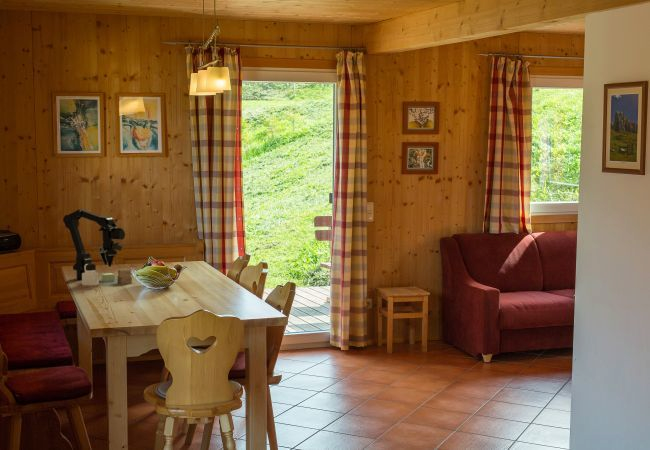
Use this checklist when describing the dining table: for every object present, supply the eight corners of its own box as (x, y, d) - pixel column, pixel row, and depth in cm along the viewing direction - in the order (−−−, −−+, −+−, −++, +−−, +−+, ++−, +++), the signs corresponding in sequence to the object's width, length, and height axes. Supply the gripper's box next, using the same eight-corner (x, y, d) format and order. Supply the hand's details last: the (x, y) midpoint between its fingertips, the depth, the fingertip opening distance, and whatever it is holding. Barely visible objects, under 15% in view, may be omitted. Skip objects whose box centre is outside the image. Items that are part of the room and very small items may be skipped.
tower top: (118, 276, 484) (118, 269, 484) (128, 275, 486) (128, 268, 486) (120, 277, 479) (119, 270, 478) (130, 276, 481) (130, 269, 481)
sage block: (101, 280, 492) (101, 273, 492) (111, 279, 495) (111, 273, 495) (104, 282, 487) (104, 275, 487) (114, 281, 490) (114, 274, 490)
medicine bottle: (98, 284, 482) (98, 263, 481) (94, 286, 475) (93, 265, 474) (86, 283, 483) (86, 263, 482) (81, 286, 476) (81, 264, 475)
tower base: (117, 283, 483) (117, 276, 483) (127, 282, 487) (127, 275, 487) (121, 284, 479) (121, 277, 478) (131, 283, 482) (131, 276, 482)
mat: (94, 281, 492) (94, 280, 492) (123, 279, 500) (123, 278, 500) (105, 287, 472) (105, 286, 472) (135, 284, 480) (135, 284, 480)
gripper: (125, 239, 485) (125, 266, 486) (116, 236, 501) (117, 262, 503) (106, 240, 479) (106, 268, 481) (97, 237, 496) (98, 264, 497)
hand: (107, 265), depth 490 cm, fingers open, 9 cm apart
